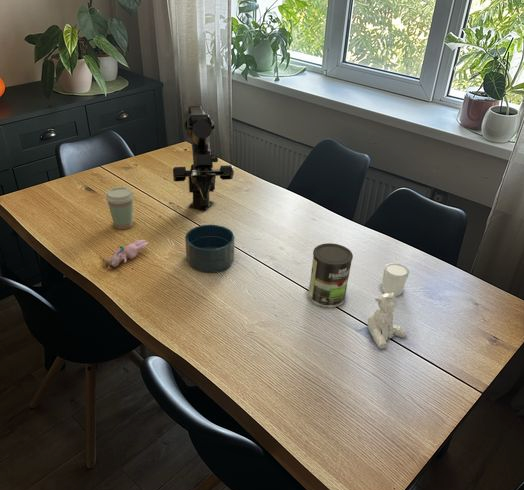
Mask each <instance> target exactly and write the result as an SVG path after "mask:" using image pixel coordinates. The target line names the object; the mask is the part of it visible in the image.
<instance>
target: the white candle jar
mask: <svg viewBox="0 0 524 490" xmlns="http://www.w3.org/2000/svg"><path fill="white" fill-rule="evenodd" d="M382 274H383V275H382V282H381V283H382V284H381V290H382V293H383V294H385V293H389V294H391V293H394V296H395V297H397V296H401V294H402V293H403V290H404V288H405V285H406V283H407V280H408V278H409V274H410V270H409V268H408V267H407V266H406V265H404V264H401V263H397V262H389V263H387V264H385V265H384V267H383V273H382Z"/></svg>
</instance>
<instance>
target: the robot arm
mask: <svg viewBox="0 0 524 490" xmlns="http://www.w3.org/2000/svg"><path fill="white" fill-rule="evenodd" d="M187 107H188V109H187V111H186V112H184V114H183V130H184V131H185V133H186V137H187V138H188V139H189V140H190V142H191V152H192V163H193V164H191V166H190V170H187V169H186V166H174V167H173V168H172V176H173V177H172V178H173V182H184V181H185V180H186V179H187V177H188V191H189V193H190V194H191V193H192V202H191V203H190V204H189V208H191V209H192V208H193V209H197V210H201V211H207V210H208V209H209V208H210V207H212V205H214V201H211V200H210V193H211V192H212V193H214V191H215V189H216V178H217V177H219V178H220V179H221V180H222V181H227V180H228V181H229V180H233V177H234V174H235V171H234V166H233V165H232V164H231V165H230V164H228V165H220V166H219V167H220V168H219V169H213V168H214V164H213V163H218V162H219V155H218V151H217V150H216V151H211V139H212V133H213V131H214V130H215V123H214V121H213V120H212V117H210V114H209V113H205V111H204V106H203V105H189V106H187Z"/></svg>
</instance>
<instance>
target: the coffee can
mask: <svg viewBox="0 0 524 490" xmlns="http://www.w3.org/2000/svg"><path fill="white" fill-rule="evenodd" d="M312 255H313V256H312V264H311V270H310V271H311V272H310V279H309V286H308V292H307V295H308V298H309V300H310V301H311V302H312V303H313V304H315V305H317V306H319V307H323V308H328V309H329V308H330V309H331V308H336V307H339V306H341V305H342V304H344V302H345V300H346V293H347V288H348V283H349V277H350V271H351V267H352V261H353V258H354V255H353V253H352V251H351V250H350V249H349V248H348V247H346V246H344V245H342V244H338V243H331V242H329V243H327V242H326V243H321V244H319V245H316V246H315V247H314V249H313V251H312Z"/></svg>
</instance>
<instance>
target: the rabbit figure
mask: <svg viewBox="0 0 524 490" xmlns="http://www.w3.org/2000/svg"><path fill="white" fill-rule="evenodd" d="M148 244H150V242H147V240H145V239H137V240H134V241H133V242H132V243H131V244H127V245H126V246H124V245H123V244H120V245H118V249H117V250H116V251H115V252H113V253H112V255H111V256H110V257H109V258H108V259H105V260H104V261H102V265H103V266H104V268H105V267H106V263H107V264H108V265H107V269H109V270H111V267H112V268H117V267H118V266H119V265H120V263H121V262H123V263H124V264H125V263H127V260H128V259H129V260H133V259H135V258H136V256H137V255H138V253H139V252H140V251H142V250H143V248H145V247H146V246H147V245H148Z"/></svg>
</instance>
